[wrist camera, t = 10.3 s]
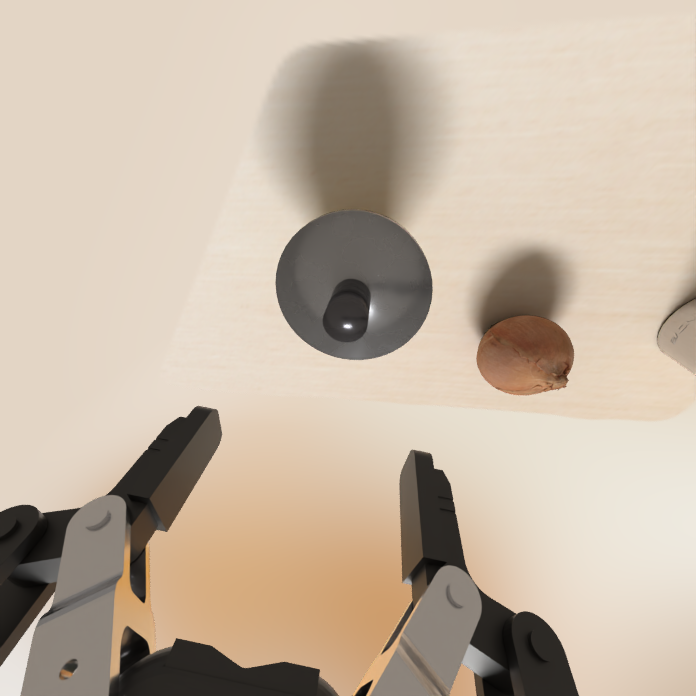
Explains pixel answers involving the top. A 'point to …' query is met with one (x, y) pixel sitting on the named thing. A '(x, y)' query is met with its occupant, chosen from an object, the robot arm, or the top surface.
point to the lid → (354, 284)
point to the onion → (525, 355)
